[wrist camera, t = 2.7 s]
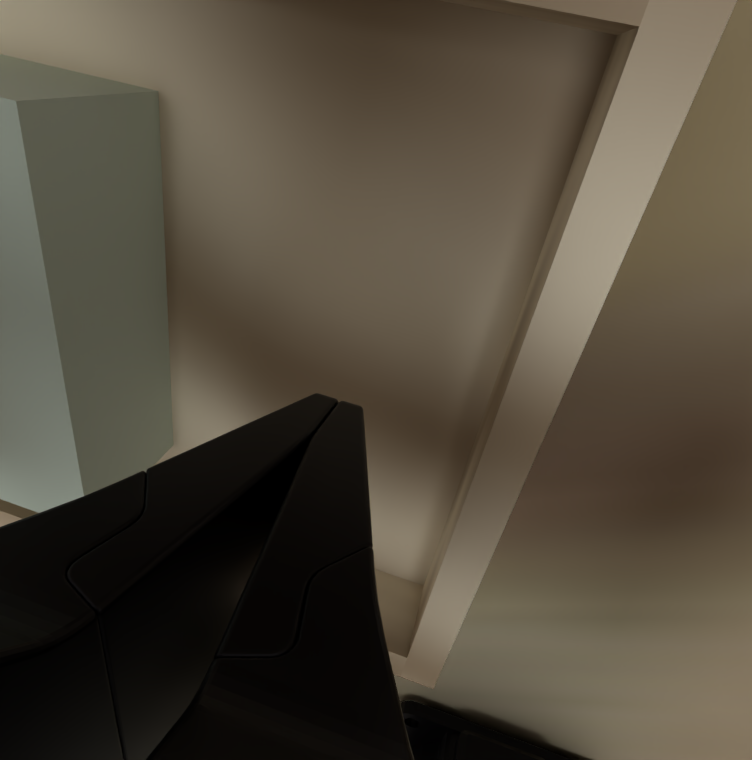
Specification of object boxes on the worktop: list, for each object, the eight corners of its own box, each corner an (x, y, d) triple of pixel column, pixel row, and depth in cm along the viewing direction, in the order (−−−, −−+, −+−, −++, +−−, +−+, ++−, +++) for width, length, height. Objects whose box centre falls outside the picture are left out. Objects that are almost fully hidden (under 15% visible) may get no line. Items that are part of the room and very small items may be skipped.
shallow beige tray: (448, 599, 14) (433, 688, 12) (-56, 425, 17) (-141, 477, 14) (698, -22, 7) (762, -57, 5) (-262, -194, 9) (-497, -269, 7)
